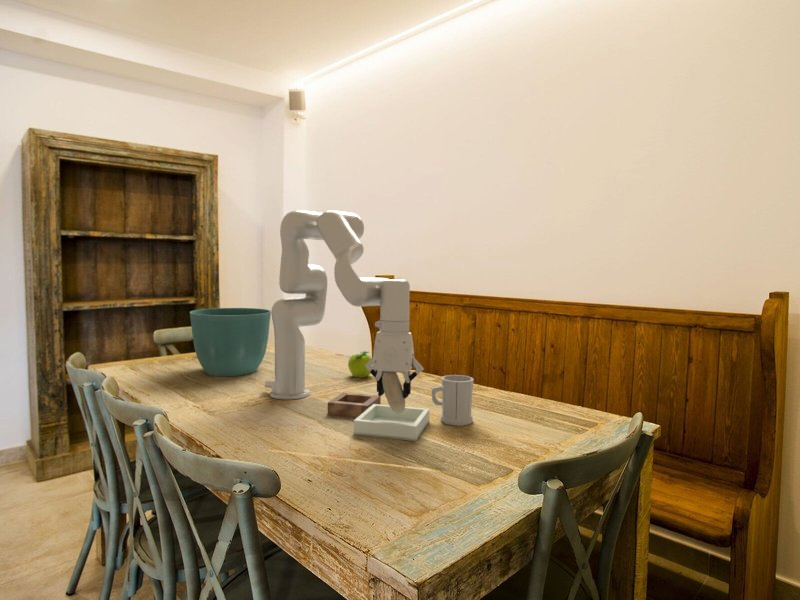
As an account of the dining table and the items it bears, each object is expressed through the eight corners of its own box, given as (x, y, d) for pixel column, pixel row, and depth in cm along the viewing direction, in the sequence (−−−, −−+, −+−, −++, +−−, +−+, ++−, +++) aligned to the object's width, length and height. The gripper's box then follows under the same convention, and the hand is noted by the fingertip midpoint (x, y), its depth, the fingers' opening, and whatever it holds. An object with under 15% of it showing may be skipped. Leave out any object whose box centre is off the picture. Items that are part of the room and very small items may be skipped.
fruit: (377, 377, 192) (377, 351, 191) (362, 381, 184) (363, 354, 183) (358, 374, 197) (358, 348, 196) (343, 378, 189) (343, 352, 188)
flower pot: (258, 381, 181) (258, 315, 180) (176, 380, 182) (175, 313, 180) (279, 365, 211) (279, 308, 210) (208, 364, 212) (208, 307, 210)
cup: (446, 428, 131) (447, 383, 130) (428, 419, 139) (429, 376, 138) (479, 423, 136) (480, 380, 135) (460, 414, 144) (461, 373, 143)
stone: (402, 417, 127) (404, 370, 126) (378, 415, 128) (380, 369, 128) (407, 411, 133) (408, 366, 132) (384, 409, 134) (385, 364, 133)
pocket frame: (327, 414, 142) (327, 402, 142) (343, 403, 154) (343, 392, 153) (367, 418, 139) (367, 405, 139) (380, 406, 151) (380, 395, 150)
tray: (353, 434, 125) (353, 420, 125) (373, 416, 141) (373, 404, 140) (415, 441, 121) (416, 426, 121) (429, 421, 137) (429, 409, 136)
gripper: (358, 327, 128) (357, 396, 129) (424, 330, 123) (422, 402, 125) (367, 324, 135) (366, 390, 136) (430, 327, 131) (428, 395, 132)
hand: (393, 395), depth 130 cm, fingers closed on stone, 6 cm apart
